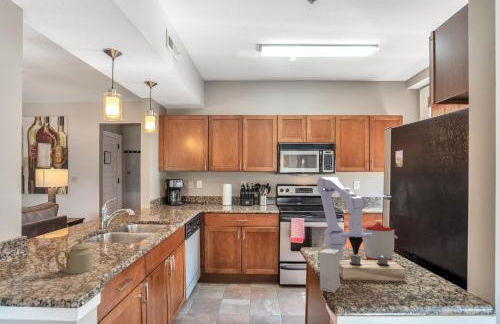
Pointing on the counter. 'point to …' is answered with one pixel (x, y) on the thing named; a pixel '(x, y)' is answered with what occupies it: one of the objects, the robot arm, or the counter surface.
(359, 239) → the robot arm
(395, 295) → the counter surface
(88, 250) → the olive green teapot
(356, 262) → the steel peg
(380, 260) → the steel peg
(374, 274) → the maple peg block
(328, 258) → the skincare box
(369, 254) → the citrus juicer
